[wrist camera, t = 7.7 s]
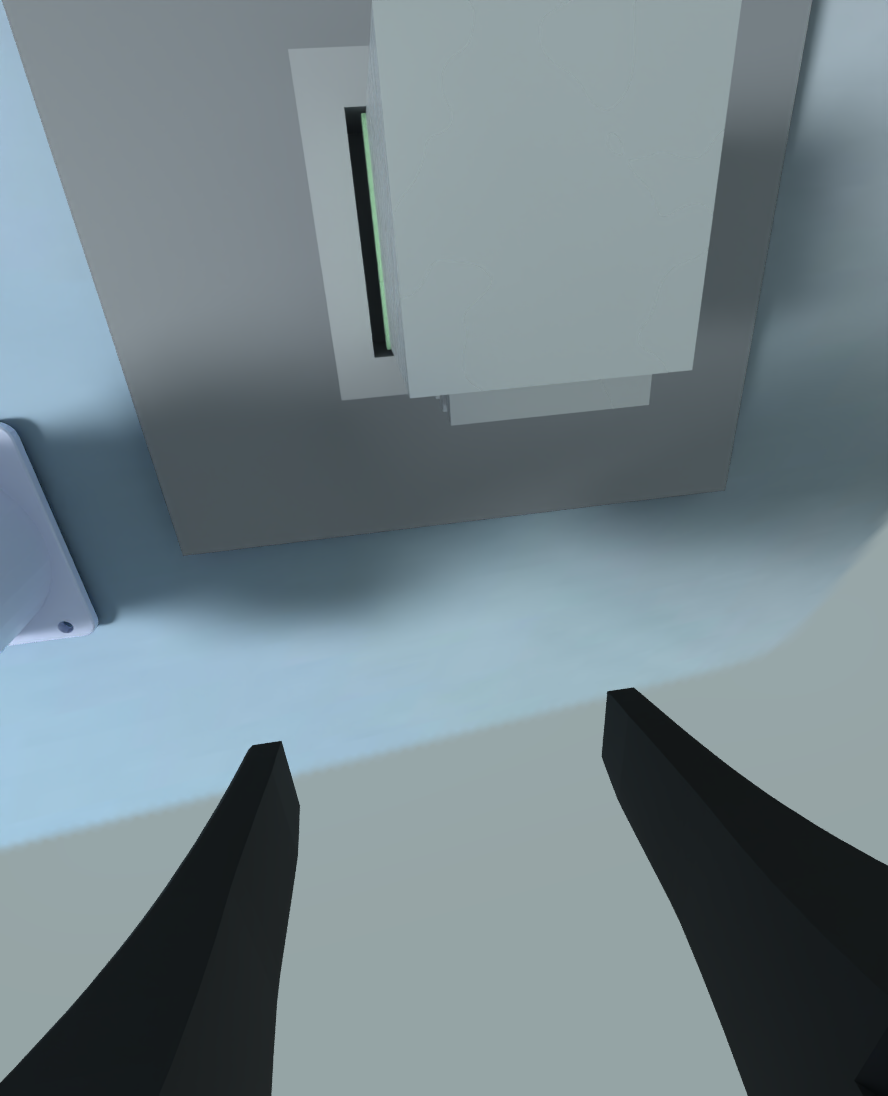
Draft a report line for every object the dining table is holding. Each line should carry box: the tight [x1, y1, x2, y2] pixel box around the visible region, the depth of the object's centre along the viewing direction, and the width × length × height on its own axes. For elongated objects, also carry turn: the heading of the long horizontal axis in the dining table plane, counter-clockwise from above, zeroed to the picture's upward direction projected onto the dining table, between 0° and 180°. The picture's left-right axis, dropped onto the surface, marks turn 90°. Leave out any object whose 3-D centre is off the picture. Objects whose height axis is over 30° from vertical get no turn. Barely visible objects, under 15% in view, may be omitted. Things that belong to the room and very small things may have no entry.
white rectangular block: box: [361, 0, 742, 426], centre depth 11 cm, size 5×5×7 cm
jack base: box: [2, 0, 812, 556], centre depth 15 cm, size 20×18×4 cm
